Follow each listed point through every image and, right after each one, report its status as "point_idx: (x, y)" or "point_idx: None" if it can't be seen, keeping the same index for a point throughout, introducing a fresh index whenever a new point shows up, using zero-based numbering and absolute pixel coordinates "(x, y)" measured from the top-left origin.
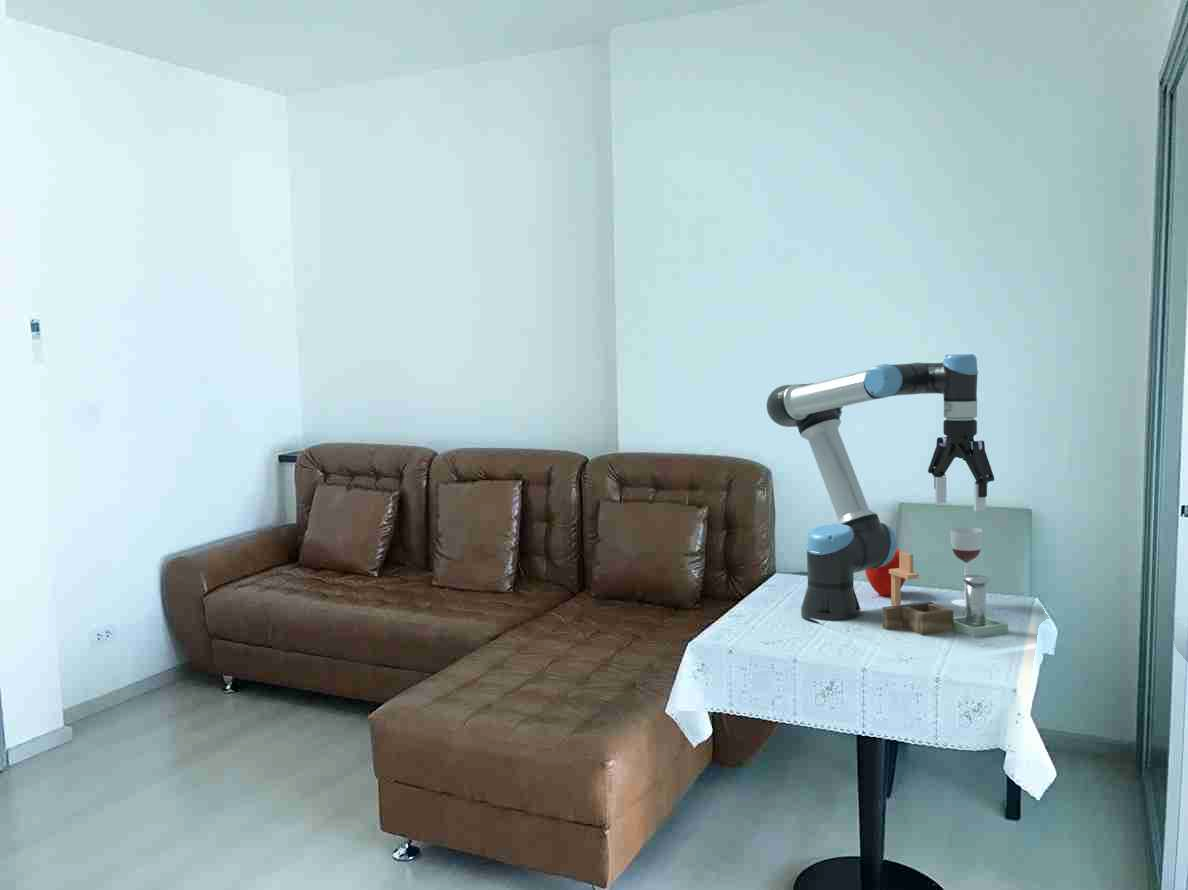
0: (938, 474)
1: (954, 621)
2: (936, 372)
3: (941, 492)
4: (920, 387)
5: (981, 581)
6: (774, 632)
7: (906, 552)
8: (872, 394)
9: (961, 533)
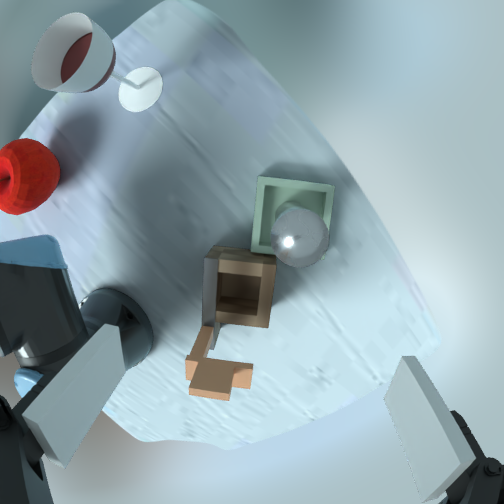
0: (33, 458)
1: (272, 251)
2: None
3: (97, 387)
4: None
5: (326, 249)
6: (156, 411)
7: (203, 390)
8: None
9: (71, 78)
